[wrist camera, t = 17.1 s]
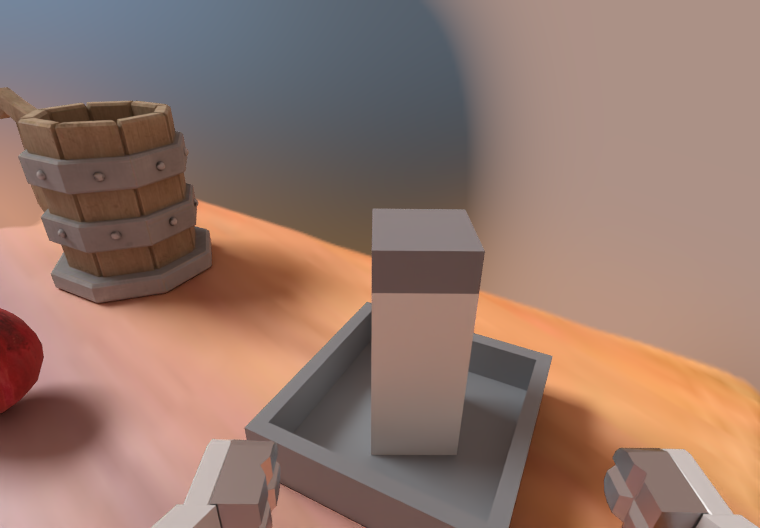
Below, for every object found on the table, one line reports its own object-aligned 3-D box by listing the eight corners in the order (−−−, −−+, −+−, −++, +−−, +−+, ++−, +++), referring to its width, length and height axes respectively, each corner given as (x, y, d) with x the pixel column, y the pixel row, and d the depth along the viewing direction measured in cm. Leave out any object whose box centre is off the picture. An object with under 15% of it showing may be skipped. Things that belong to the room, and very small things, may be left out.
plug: (456, 455, 24) (484, 251, 18) (371, 454, 24) (371, 250, 18) (445, 392, 28) (465, 209, 22) (371, 392, 28) (372, 208, 22)
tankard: (239, 251, 45) (215, 93, 38) (128, 317, 35) (67, 118, 28) (106, 216, 53) (65, 78, 46) (-17, 261, 43) (-94, 94, 36)
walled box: (492, 592, 18) (502, 549, 17) (252, 468, 23) (244, 427, 22) (543, 393, 28) (552, 356, 27) (367, 335, 33) (367, 301, 32)
